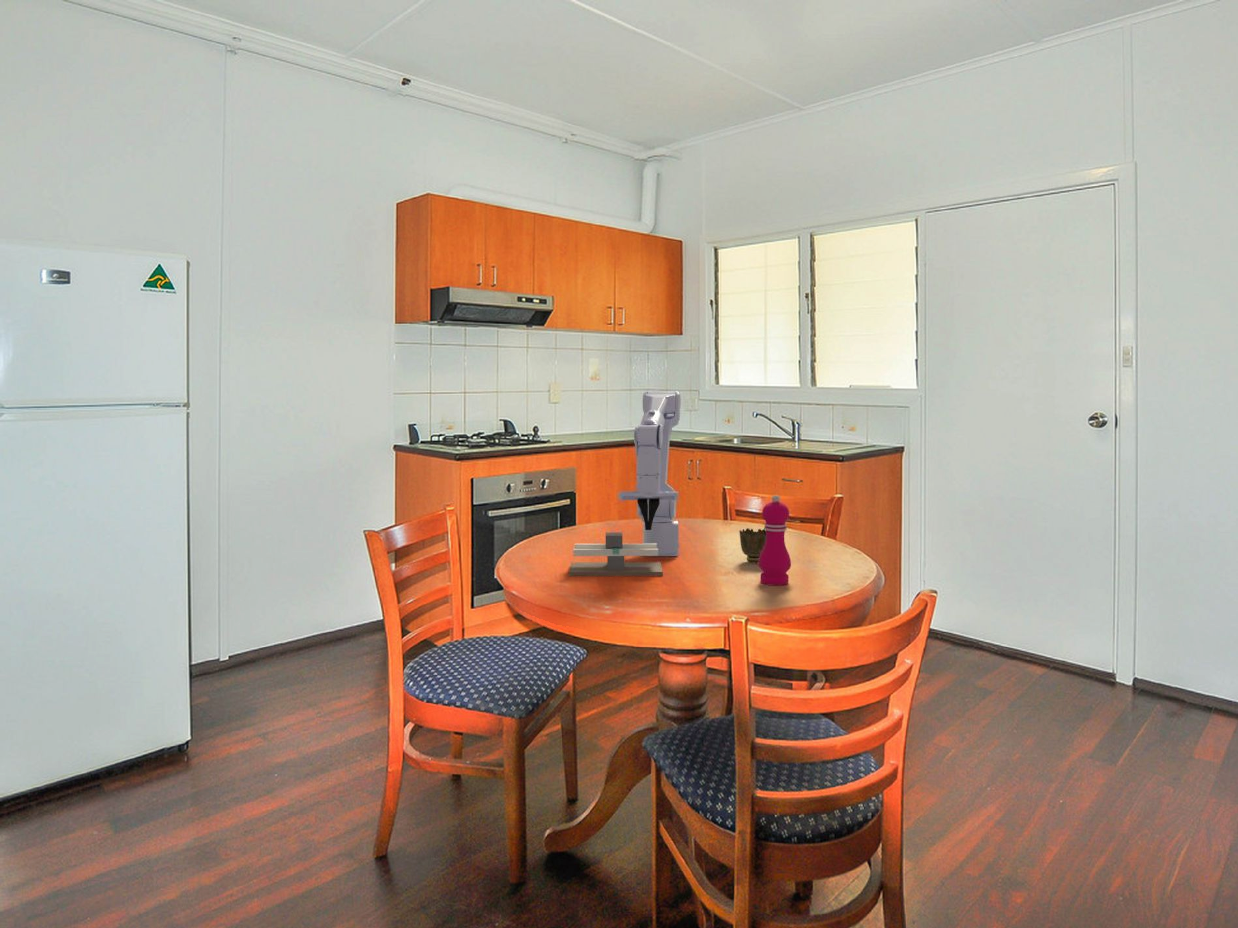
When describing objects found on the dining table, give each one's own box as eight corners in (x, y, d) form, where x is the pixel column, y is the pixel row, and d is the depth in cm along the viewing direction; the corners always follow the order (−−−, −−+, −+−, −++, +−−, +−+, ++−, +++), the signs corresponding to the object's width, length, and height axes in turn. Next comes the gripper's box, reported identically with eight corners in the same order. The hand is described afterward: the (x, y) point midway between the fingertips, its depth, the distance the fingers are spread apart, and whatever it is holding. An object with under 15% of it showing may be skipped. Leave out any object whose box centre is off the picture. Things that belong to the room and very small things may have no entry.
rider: (622, 548, 190) (622, 532, 190) (622, 552, 186) (622, 535, 186) (605, 548, 190) (605, 532, 190) (605, 552, 186) (605, 535, 186)
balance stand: (660, 565, 194) (660, 541, 193) (662, 575, 184) (662, 550, 183) (571, 566, 193) (570, 542, 193) (569, 576, 184) (568, 550, 183)
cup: (770, 559, 200) (771, 528, 199) (766, 566, 193) (767, 534, 192) (741, 557, 203) (742, 527, 202) (736, 564, 196) (737, 532, 195)
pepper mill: (754, 578, 181) (756, 493, 179) (785, 577, 182) (787, 492, 180) (763, 586, 174) (764, 497, 172) (794, 585, 175) (796, 497, 173)
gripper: (618, 476, 186) (618, 532, 188) (679, 476, 186) (679, 532, 188) (618, 472, 193) (618, 527, 195) (677, 472, 193) (676, 526, 195)
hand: (648, 529), depth 192 cm, fingers closed
